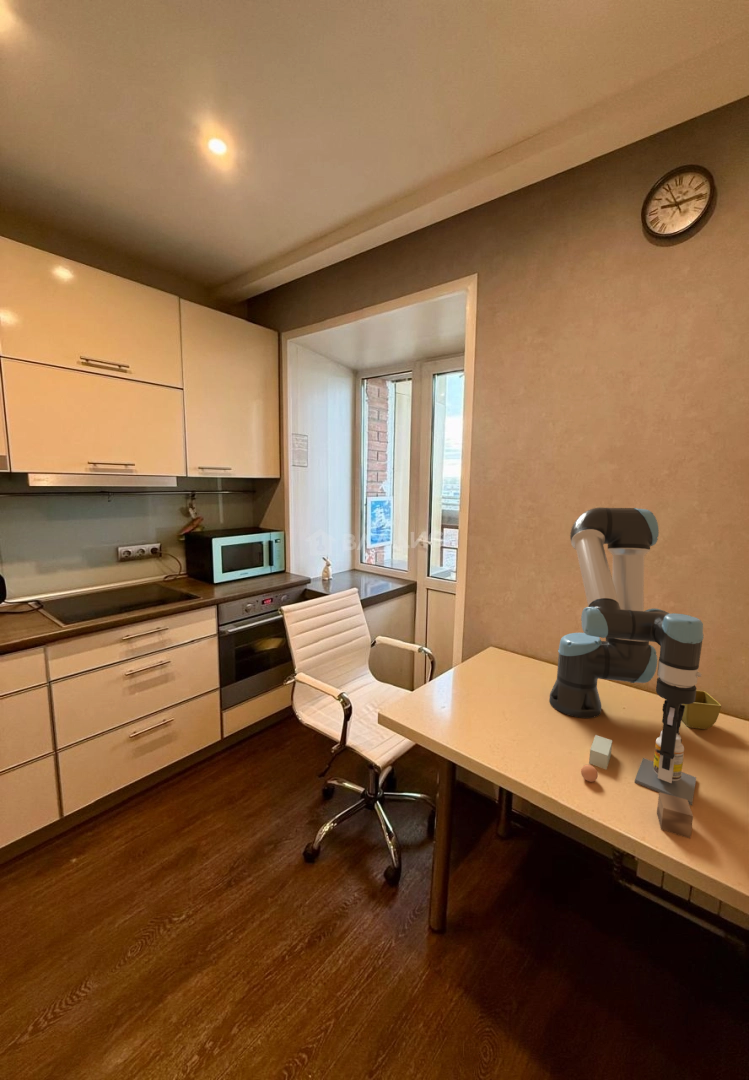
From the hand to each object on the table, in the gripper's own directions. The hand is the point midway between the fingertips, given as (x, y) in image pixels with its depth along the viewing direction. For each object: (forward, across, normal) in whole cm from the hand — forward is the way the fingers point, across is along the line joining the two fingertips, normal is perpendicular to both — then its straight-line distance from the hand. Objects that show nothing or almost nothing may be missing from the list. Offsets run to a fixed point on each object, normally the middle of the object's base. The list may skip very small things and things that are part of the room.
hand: (666, 773), depth 101 cm
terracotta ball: (0, -12, +14) cm, 18 cm away
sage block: (+2, -1, +14) cm, 14 cm away
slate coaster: (+2, 0, 0) cm, 2 cm away
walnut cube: (+2, -15, -3) cm, 15 cm away
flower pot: (+2, +36, -3) cm, 36 cm away
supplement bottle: (+1, 0, 0) cm, 1 cm away
